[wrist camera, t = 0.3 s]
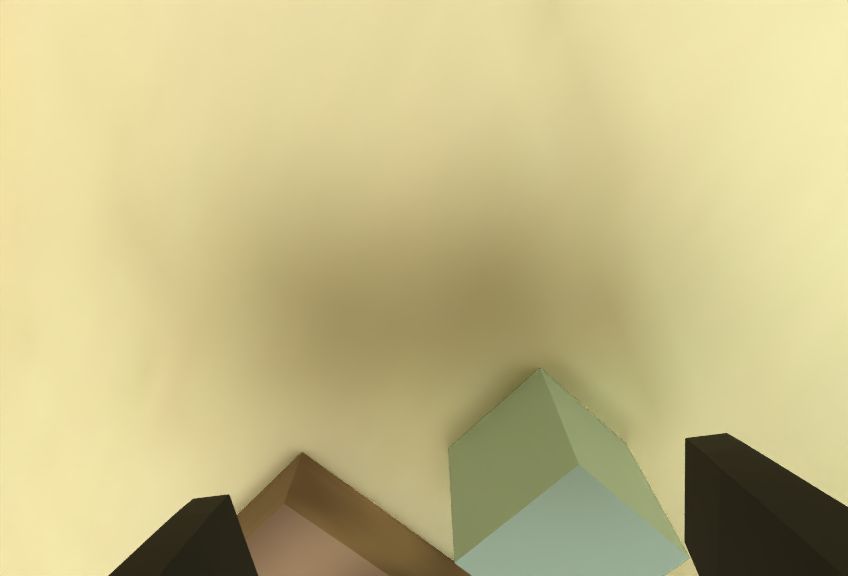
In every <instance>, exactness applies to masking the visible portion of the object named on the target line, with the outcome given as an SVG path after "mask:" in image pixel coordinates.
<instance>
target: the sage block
mask: <svg viewBox="0 0 848 576" xmlns="http://www.w3.org/2000/svg"><path fill="white" fill-rule="evenodd" d="M448 451H449V470H450V489H451V508H452V527H453V546H454V563H455V564H456V565H458V566H459V567H461V568H462V569H463V570H465V571H466V572H468V573H469V574H470V575H472V576H664V575H666V574H667V573H669V572H670V571H672V570H673V569H675V568H676V567H678V566H679V565H681V564H682V563H684V562H685V561H686V560H688V559H689V558H690V557H689V555H688V554H687V552H686V550H685V548H684V546H683V545H682V543H681V541H680V539H679V537H678V536H677V534H676V532H675V530H674V529H673V527H672V525H671V523H670V521H669V520H668V518H667V516H666V514H665V512H664V511H663V509H662V507H661V505H660V503H659V502H658V500H657V498H656V496H655V494H654V493H653V491H652V489H651V487H650V485H649V484H648V482H647V480H646V478H645V477H644V475H643V473H642V471H641V469H640V468H639V466H638V464H637V462H636V460H635V459H634V457H633V455H632V453H631V451H630V450H629V448H628V446H627V444H626V443H625V442H624V441H623V440H621V439H620V438H619V437H618V436H617V435H616V434H615V433H614V432H612V431H611V430H610V429H609V428H608V427H607V426H606V425H604V424H603V423H602V422H601V421H600V420H599V419H598V418H597V417H595V416H594V415H593V414H592V413H591V412H590V411H589V410H588V409H586V408H585V407H584V406H583V405H582V404H581V403H580V402H578V401H577V400H576V399H575V398H574V397H573V396H572V395H571V394H569V393H568V392H567V391H566V390H565V389H564V388H563V387H562V386H560V385H559V384H558V383H557V382H556V381H555V380H554V379H552V378H551V377H550V376H549V375H548V374H547V373H546V372H545V371H543V370H542V369H541V368H539V369H538V370H537V371H536V372H535V373H534V374H533V375H531V376H530V377H529V378H528V379H527V380H526V381H525V382H523V383H522V384H521V385H520V386H519V387H518V388H517V389H515V390H514V391H513V392H512V393H511V394H510V395H509V396H507V397H506V398H505V399H504V400H503V401H502V402H501V403H499V404H498V405H497V406H496V407H495V408H494V409H493V410H491V411H490V412H489V413H488V414H487V415H486V416H485V417H483V418H482V419H481V420H480V421H479V422H478V423H477V424H476V425H474V426H473V427H472V428H471V429H470V430H469V431H468V432H466V433H465V434H464V435H463V436H462V437H461V438H460V439H458V440H457V441H456V442H455V443H454V444H453V445H452V446H450V447H449V448H448Z"/></svg>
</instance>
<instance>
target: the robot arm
mask: <svg viewBox="0 0 848 576" xmlns="http://www.w3.org/2000/svg"><path fill="white" fill-rule="evenodd" d="M685 544H686V546H687V549H688V551H689V553H690V556H691V558H692V560H693V563H694V565H695V567H696V570H697V572H698V574H699V576H848V507H847V506H845V505H844V504H842V503H840V502H839V501H837V500H836V499H834V498H832V497H831V496H829V495H827V494H826V493H824V492H822V491H821V490H819V489H818V488H816V487H814V486H813V485H811V484H809V483H808V482H806V481H805V480H803V479H801V478H800V477H798V476H797V475H795V474H793V473H792V472H790V471H788V470H787V469H785V468H784V467H782V466H780V465H779V464H777V463H776V462H774V461H772V460H771V459H769V458H767V457H766V456H764V455H763V454H761V453H759V452H758V451H756V450H755V449H753V448H751V447H750V446H748V445H746V444H745V443H743V442H741V441H740V440H738V439H736V438H734V437H733V436H731V435H729V434H727V433H723V434H715V435H707V436H699V437H691V438H685ZM109 576H258V573H257V571H256V568H255V565H254V562H253V559H252V557H251V554H250V551H249V548H248V545H247V543H246V540H245V537H244V534H243V532H242V529H241V526H240V523H239V520H238V518H237V515H236V512H235V509H234V506H233V504H232V501H231V498H230V495H229V494H228V495H220V496H212V497H204V498H196V499H192V500H191V501H190V502H189V503H188V504H186V505H185V506H184V507H183V508H182V509H180V510H179V511H178V512H177V513H176V514H175V515H174V516H172V517H171V518H170V519H169V520H168V521H167V522H166V523H165V524H164V525H163V526H161V527H160V528H159V529H158V530H157V531H156V532H155V533H154V534H153V535H152V536H151V537H149V538H148V539H147V540H146V541H145V542H144V543H143V544H142V545H141V546H140V547H139V548H138V549H137V550H136V551H134V552H133V553H132V554H131V555H130V556H129V557H128V558H127V559H126V560H125V561H124V562H123V563H122V564H121V565H119V566H118V567H117V568H116V569H115V570H114V571H113V572H112V573H111V574H110V575H109Z"/></svg>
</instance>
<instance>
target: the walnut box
mask: <svg viewBox="0 0 848 576" xmlns="http://www.w3.org/2000/svg"><path fill="white" fill-rule="evenodd" d="M237 518H238V520H239V523H240V526H241V529H242V532H243V534H244V537H245V540H246V543H247V545H248V548H249V551H250V554H251V557H252V559H253V562H254V565H255V568H256V571H257V573H258V576H472V575H470V574H469V573H468V572H466V571H465V570H463V569H462V568H461V567H459V566H458V565H456V564H455V563H454V561H452V560H451V559H450V558H448V557H447V556H446V555H444V554H443V553H441V552H440V551H439V550H437V549H436V548H434V547H433V546H432V545H430V544H429V543H428V542H426V541H425V540H423V539H422V538H421V537H419V536H418V535H416V534H415V533H414V532H412V531H411V530H410V529H408V528H407V527H405V526H404V525H403V524H401V523H400V522H398V521H397V520H396V519H394V518H393V517H391V516H390V515H389V514H387V513H386V512H385V511H383V510H382V509H380V508H379V507H378V506H376V505H375V504H373V503H372V502H371V501H369V500H368V499H367V498H365V497H364V496H362V495H361V494H360V493H358V492H357V491H355V490H354V489H353V488H351V487H350V486H349V485H347V484H346V483H344V482H343V481H342V480H340V479H339V478H337V477H336V476H335V475H333V474H332V473H330V472H329V471H328V470H326V469H325V468H324V467H322V466H321V465H319V464H318V463H317V462H315V461H314V460H312V459H311V458H310V457H308V456H307V455H306V454H304V453H303V452H302V453H301V454H300V455H299V456H298V457H297V458H296V459H294V460H293V461H292V462H291V463H290V464H289V465H288V466H287V467H286V468H285V469H284V470H283V471H282V472H281V473H280V474H279V475H278V476H277V477H276V478H275V479H274V480H273V481H272V482H271V483H270V484H269V485H268V486H267V487H266V488H265V489H264V490H263V491H262V492H261V493H260V494H259V495H258V496H257V497H256V498H255V499H254V500H253V501H251V502H250V503H249V504H248V505H247V506H246V507H245V508H244V509H243V510H242V511H241V512H240V513H239V514H238V515H237Z"/></svg>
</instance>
